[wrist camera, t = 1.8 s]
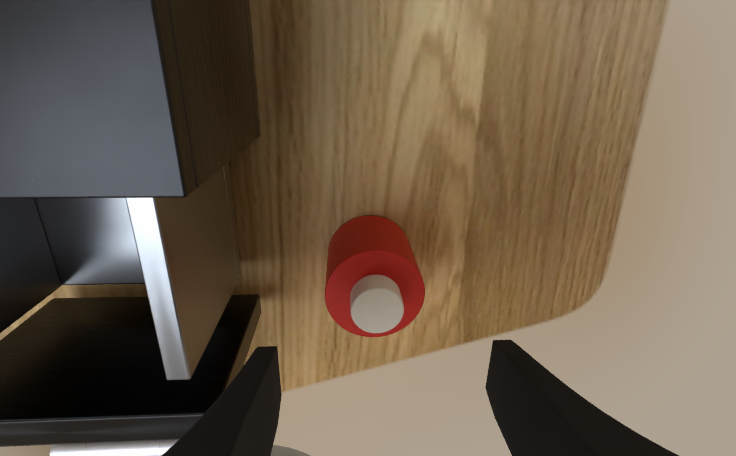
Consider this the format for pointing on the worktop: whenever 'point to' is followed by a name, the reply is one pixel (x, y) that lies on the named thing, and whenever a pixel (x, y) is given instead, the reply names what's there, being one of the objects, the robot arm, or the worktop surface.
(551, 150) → the worktop surface
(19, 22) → the cabinet
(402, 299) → the bottle
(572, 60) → the worktop surface
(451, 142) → the worktop surface
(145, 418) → the drawer
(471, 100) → the worktop surface
